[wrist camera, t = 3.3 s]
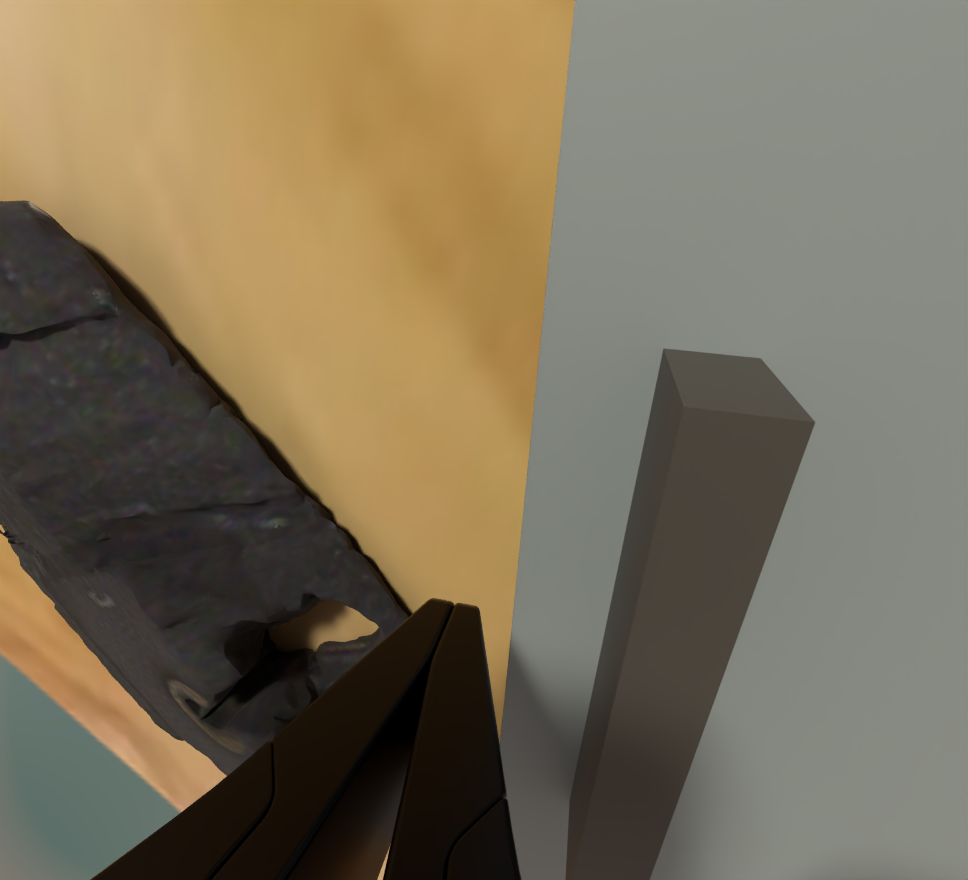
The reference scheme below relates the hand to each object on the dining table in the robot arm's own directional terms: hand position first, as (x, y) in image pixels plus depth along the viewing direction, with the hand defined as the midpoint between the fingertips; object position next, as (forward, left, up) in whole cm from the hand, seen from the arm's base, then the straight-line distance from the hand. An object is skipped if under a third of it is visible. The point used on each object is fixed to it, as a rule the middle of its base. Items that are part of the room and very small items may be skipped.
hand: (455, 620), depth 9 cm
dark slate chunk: (+12, +6, -8) cm, 16 cm away
